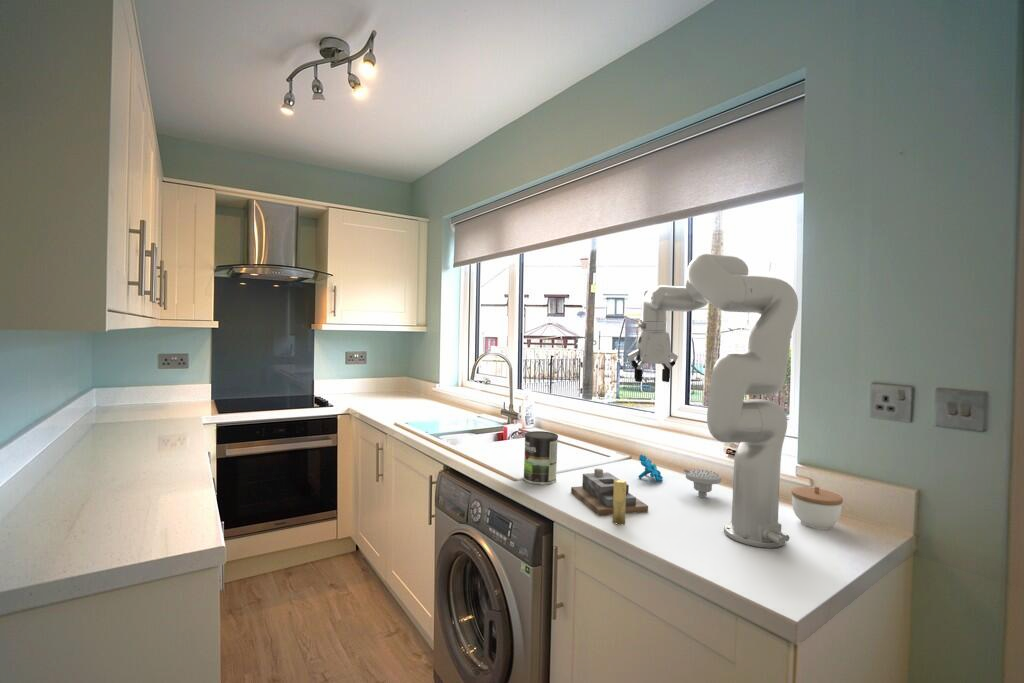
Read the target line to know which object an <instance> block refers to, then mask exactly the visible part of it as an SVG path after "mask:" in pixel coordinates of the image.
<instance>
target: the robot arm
mask: <svg viewBox="0 0 1024 683" xmlns="http://www.w3.org/2000/svg"><path fill="white" fill-rule="evenodd" d="M709 303H710V305H712V306H713V307H714V308H716V309H718V310H720V311H724V312H730V313H734V312H735V313H757V314H759V316H758V317H757V318H756V320H754V322H753V323H752V326H751V327H750V329H749V331H748V336H747V344H746V348H745V350H744V352H743V351H742V352H741V351H740V352H739V351H735V352H734V351H733V352H727V353H724V354H723V355H721V356H720V357H719V358H718V359H717V360H716V362H715V363H714V366H713V367H712V370H711V376H710V377H711V378H710V386H709V393H708V403H707V414H706V422H707V423H706V424H707V428H708V429H707V430H708V431H709V434H710V435H711V436H712V438H714V439H715V440H717V441H719V442H722V443H726V444H727V443H738V446H737V448H736V450H735V453H734V458H733V473H732V474H733V476H732V478H733V479H732V481H733V482H732V504H731V505H732V506H731V508H732V509H731V521H729V522H727V523H725V524H724V527H723V532H724V534H725V535H727V537H729V539H730V538H731V540H734V541H736V542H738V543H741V544H744V545H748V546H751V547H757V548H766V549H767V548H770V549H772V548H778V547H783V546H784V545H785V544H786V542H788V541H789V540H790V535H789V534H787V533H785V532H782V525H783V524H782V523H780V522H779V506H780V505H779V504H780V481H781V480H780V479H781V478H780V476H781V462H782V452H783V451H782V450H783V446H784V442H785V438H786V434H787V431H788V430H787V429H788V417H787V413H786V412H785V410H784V408H783V407H782V406H780V404H778V403H777V402H774V401H772V400H769V399H764V398H763V399H760V398H754V399H753V398H752V399H751V398H750V399H749V398H746V399H745V396H749V395H750V396H755V395H756V396H759V395H760V396H762V395H763V396H764V395H773V394H774V395H775V394H776V393H778V392H780V391H782V389H783V388H784V385H785V382H786V377H787V371H788V370H787V369H788V366H789V364H788V363H789V354H790V351H791V350H790V347H791V339H792V335H793V331H794V330H793V329H794V326H795V323H796V319H797V315H798V310H799V299H798V295H797V293H796V291H795V289H794V287H793V286H792V285H791V284H790V283H788V282H787V281H785V280H783V279H781V278H776V277H772V276H763V275H750V274H749V267H748V265H747V263H746V262H745V261H744V260H743V259H742V258H739V257H737V256H734V255H727V254H713V253H702V254H699V255H696V256H695V257H694V258H692V260H691V261H690V262H689V264H688V266H687V270H686V279H685V286H682V285H681V286H679V285H678V286H677V285H658V286H654V287H652V288H646V289H644V290H643V292H642V303H641V304H642V307H641V309H642V310H641V323H638V325H637V326H638V328H639V329H641V331H639V332H638V337H637V342H636V344H637V345H636V350H634V351H632V352H629V354H627V359H628V360H629V361H628V362H629V364H630V365H631V366H632V368H633V369H634V382H636V383H642V382H643V369H641V368H642V367H643V366H644V365H645V364H649V365H650V364H651V365H652V364H655V365H657V364H659V365H661V366H662V367H663V368H662V370H661V371H662V373H661V381H662V382H664V383H670V379H671V370H672V369H673V367H674V366H675V365H676V362H677V360H678V358H679V356H678V355H677V354H675V353H674V352H672V346H671V345H672V343H671V338H670V333H669V332H668V331H667V324H668V322H667V320H668V319H667V318H668V312H693V311H696V310H698V309H701V308H704V307H706V306H707V305H708V304H709ZM635 357H636V360H635Z"/></svg>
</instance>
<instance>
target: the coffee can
mask: <svg viewBox="0 0 1024 683" xmlns="http://www.w3.org/2000/svg"><path fill="white" fill-rule="evenodd" d="M558 438H559V435H558V434H557V433H555V432H549V431H540V430H533V431H528V432H526V433H524V457H523V458H524V460H523V461H524V462H523V463H524V464H523V478H524V479H523V481H524V480H525V481H524V482H526V483H527V484H533V485H542V486H543V485H546V486H547V485H551V484H555V483H556V482H557V462H558V440H559V439H558Z"/></svg>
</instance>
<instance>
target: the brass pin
mask: <svg viewBox="0 0 1024 683" xmlns="http://www.w3.org/2000/svg"><path fill="white" fill-rule="evenodd" d="M626 484H627V481H626V480H624V479H620V480H614V489H613V514H612V523H613V524H614V523H617V524H623V525H625V524H626V513H625V510H626ZM624 523H625V524H624ZM617 524H616V525H617Z"/></svg>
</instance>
